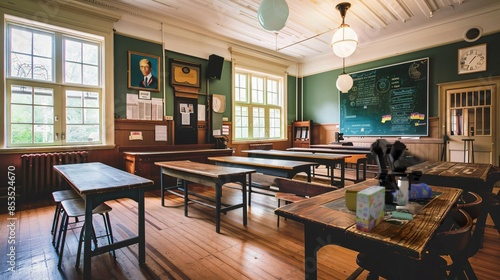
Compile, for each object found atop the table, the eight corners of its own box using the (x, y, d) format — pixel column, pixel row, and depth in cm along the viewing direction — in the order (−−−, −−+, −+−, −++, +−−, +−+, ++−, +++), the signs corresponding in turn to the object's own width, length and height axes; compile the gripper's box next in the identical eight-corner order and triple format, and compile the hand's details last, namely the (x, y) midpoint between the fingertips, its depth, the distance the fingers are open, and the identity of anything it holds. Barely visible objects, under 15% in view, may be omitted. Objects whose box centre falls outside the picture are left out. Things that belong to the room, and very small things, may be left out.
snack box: (370, 233, 95) (370, 194, 95) (355, 229, 99) (355, 192, 99) (385, 219, 110) (385, 186, 110) (371, 216, 114) (372, 184, 114)
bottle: (396, 203, 114) (396, 177, 114) (396, 201, 118) (397, 175, 117) (408, 205, 112) (408, 178, 111) (408, 203, 115) (408, 176, 115)
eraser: (406, 208, 128) (406, 204, 128) (405, 207, 131) (405, 203, 131) (417, 209, 126) (417, 205, 126) (416, 208, 129) (416, 204, 129)
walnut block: (414, 214, 118) (414, 206, 118) (408, 211, 122) (408, 203, 122) (422, 214, 118) (422, 206, 118) (416, 211, 122) (416, 203, 122)
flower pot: (363, 208, 128) (363, 191, 128) (363, 212, 120) (363, 194, 120) (345, 206, 131) (345, 189, 131) (344, 210, 123) (344, 192, 123)
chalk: (397, 209, 126) (397, 206, 126) (396, 208, 127) (396, 205, 127) (411, 210, 125) (411, 207, 125) (410, 209, 126) (410, 206, 126)
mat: (392, 217, 113) (392, 216, 113) (392, 212, 120) (392, 211, 120) (412, 220, 109) (412, 219, 109) (411, 215, 116) (411, 214, 116)
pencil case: (399, 201, 142) (399, 184, 142) (389, 197, 151) (389, 181, 151) (434, 200, 145) (434, 184, 145) (422, 196, 153) (422, 181, 153)
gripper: (379, 152, 120) (386, 179, 109) (421, 153, 116) (433, 181, 105) (374, 166, 128) (380, 192, 117) (414, 167, 124) (424, 194, 113)
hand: (403, 190), depth 113 cm, fingers closed on bottle, 5 cm apart
